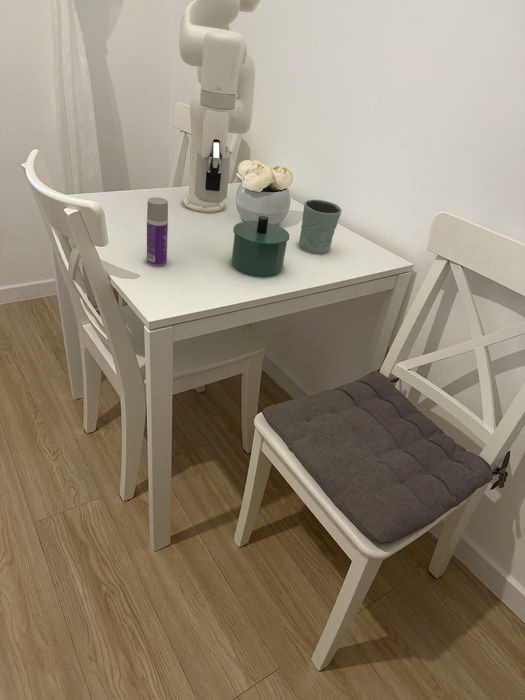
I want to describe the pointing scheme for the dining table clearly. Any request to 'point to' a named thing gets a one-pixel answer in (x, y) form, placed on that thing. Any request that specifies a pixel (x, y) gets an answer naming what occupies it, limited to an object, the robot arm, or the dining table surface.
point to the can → (201, 178)
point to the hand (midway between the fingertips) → (211, 184)
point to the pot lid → (261, 232)
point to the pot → (257, 258)
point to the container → (157, 231)
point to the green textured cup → (318, 226)
